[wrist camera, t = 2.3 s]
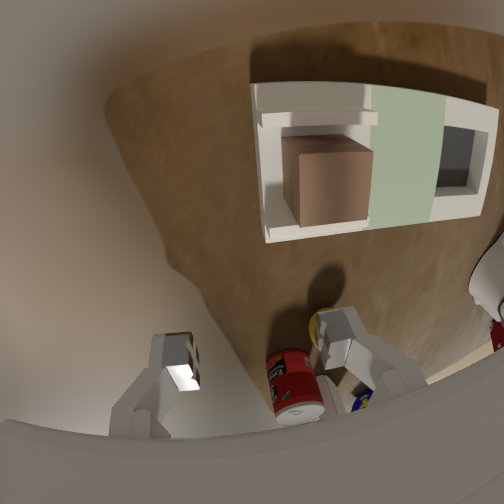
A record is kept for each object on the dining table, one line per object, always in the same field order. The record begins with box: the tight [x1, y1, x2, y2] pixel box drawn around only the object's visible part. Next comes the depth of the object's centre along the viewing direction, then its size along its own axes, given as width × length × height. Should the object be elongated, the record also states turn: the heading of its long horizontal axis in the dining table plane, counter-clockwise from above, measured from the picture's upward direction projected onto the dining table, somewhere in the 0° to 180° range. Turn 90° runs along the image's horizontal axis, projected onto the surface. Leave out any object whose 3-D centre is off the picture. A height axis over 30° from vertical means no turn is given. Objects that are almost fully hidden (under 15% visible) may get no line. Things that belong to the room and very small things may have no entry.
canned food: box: [266, 349, 325, 425], centre depth 44 cm, size 8×8×11 cm
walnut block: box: [281, 134, 374, 228], centre depth 24 cm, size 6×6×6 cm
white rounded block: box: [316, 375, 346, 420], centre depth 51 cm, size 10×4×12 cm, turn 30°
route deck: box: [250, 81, 499, 243], centre depth 27 cm, size 32×16×6 cm, turn 95°
